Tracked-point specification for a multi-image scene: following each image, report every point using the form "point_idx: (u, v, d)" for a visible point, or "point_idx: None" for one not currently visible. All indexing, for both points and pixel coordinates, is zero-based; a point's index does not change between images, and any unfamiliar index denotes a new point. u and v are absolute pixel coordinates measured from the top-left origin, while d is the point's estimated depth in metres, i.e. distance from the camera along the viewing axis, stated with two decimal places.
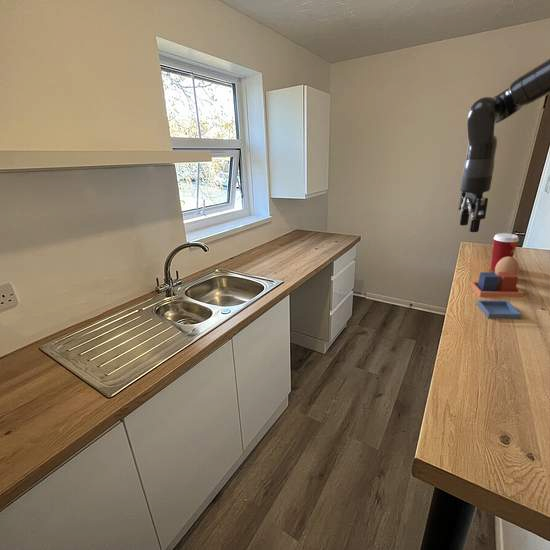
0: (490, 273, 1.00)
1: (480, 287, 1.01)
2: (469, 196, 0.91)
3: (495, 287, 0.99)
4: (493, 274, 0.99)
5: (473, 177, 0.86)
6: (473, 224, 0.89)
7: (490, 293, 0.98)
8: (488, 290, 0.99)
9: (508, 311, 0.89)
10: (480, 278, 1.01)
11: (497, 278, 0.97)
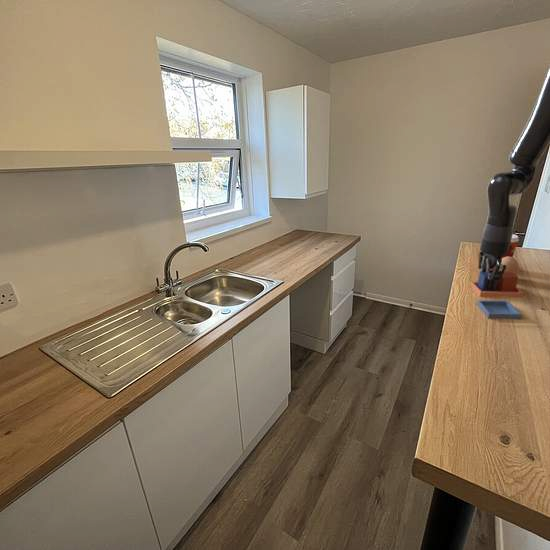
0: None
1: (479, 286, 1.02)
2: (488, 256, 0.98)
3: (494, 286, 0.99)
4: None
5: (493, 241, 0.93)
6: (489, 283, 0.98)
7: (490, 293, 0.98)
8: None
9: (508, 311, 0.89)
10: (479, 277, 1.02)
11: None
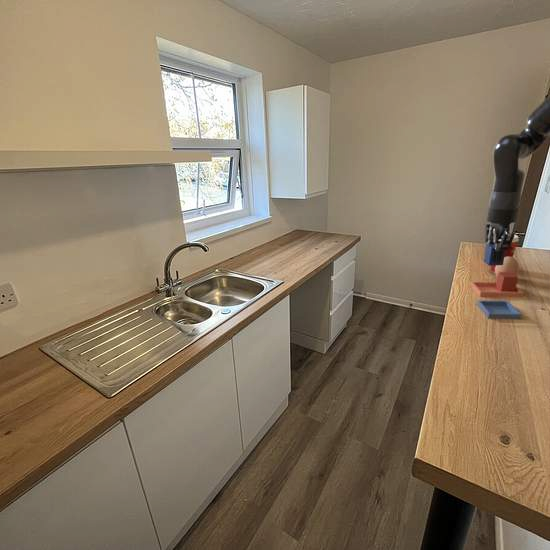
0: None
1: (486, 259, 0.97)
2: (495, 226, 0.93)
3: (502, 258, 0.95)
4: None
5: (500, 209, 0.89)
6: (496, 255, 0.94)
7: (490, 293, 0.98)
8: (495, 262, 0.96)
9: (508, 311, 0.89)
10: (486, 250, 0.98)
11: None
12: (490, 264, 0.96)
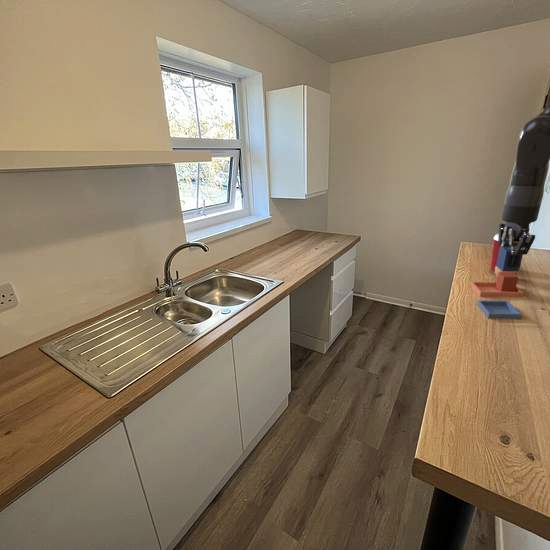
0: None
1: (500, 264, 0.84)
2: (511, 226, 0.80)
3: (519, 263, 0.82)
4: None
5: (519, 206, 0.75)
6: (512, 259, 0.81)
7: (490, 293, 0.98)
8: None
9: (508, 311, 0.89)
10: (500, 253, 0.85)
11: None
12: (504, 270, 0.83)
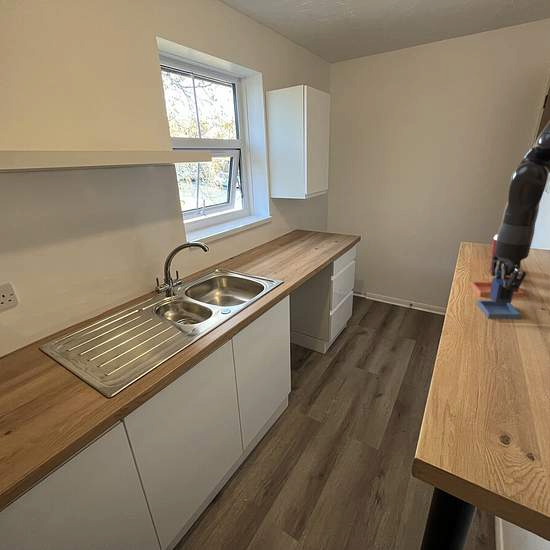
0: None
1: (493, 296, 0.88)
2: (504, 260, 0.84)
3: (510, 296, 0.85)
4: (508, 280, 0.86)
5: (511, 243, 0.79)
6: (504, 292, 0.84)
7: None
8: None
9: (508, 311, 0.89)
10: (493, 285, 0.88)
11: None
12: (497, 301, 0.87)
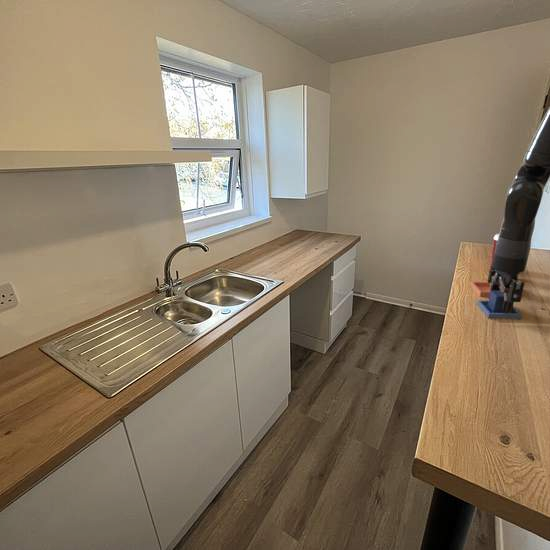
0: None
1: (490, 307, 0.89)
2: (501, 273, 0.85)
3: None
4: None
5: (508, 258, 0.80)
6: (506, 305, 0.84)
7: None
8: (500, 311, 0.87)
9: None
10: (490, 297, 0.89)
11: None
12: None
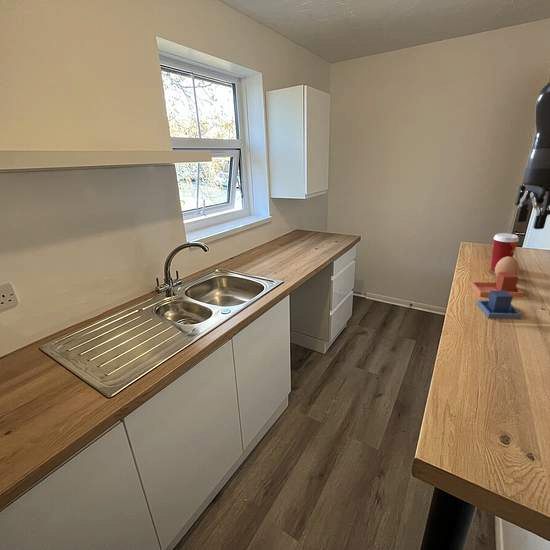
0: (502, 292, 0.88)
1: (490, 307, 0.89)
2: (532, 189, 0.83)
3: (508, 308, 0.87)
4: (506, 293, 0.87)
5: (541, 168, 0.78)
6: (539, 220, 0.81)
7: None
8: (500, 311, 0.87)
9: None
10: (490, 297, 0.89)
11: (510, 298, 0.85)
12: None
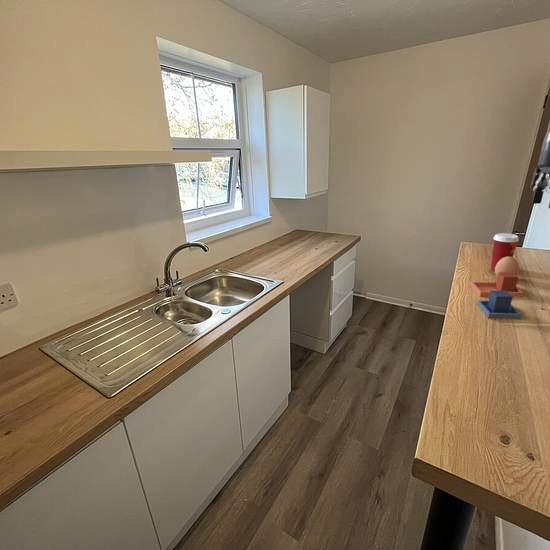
0: (502, 292, 0.88)
1: (490, 307, 0.89)
2: (548, 171, 0.87)
3: (508, 308, 0.87)
4: (506, 293, 0.87)
5: None
6: None
7: None
8: (500, 311, 0.87)
9: None
10: (490, 297, 0.89)
11: (510, 298, 0.85)
12: None
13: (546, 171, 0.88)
